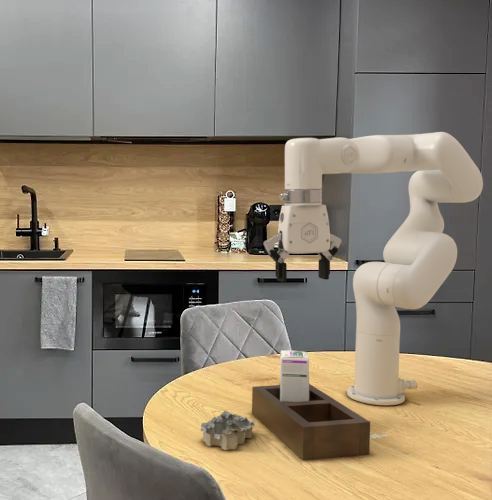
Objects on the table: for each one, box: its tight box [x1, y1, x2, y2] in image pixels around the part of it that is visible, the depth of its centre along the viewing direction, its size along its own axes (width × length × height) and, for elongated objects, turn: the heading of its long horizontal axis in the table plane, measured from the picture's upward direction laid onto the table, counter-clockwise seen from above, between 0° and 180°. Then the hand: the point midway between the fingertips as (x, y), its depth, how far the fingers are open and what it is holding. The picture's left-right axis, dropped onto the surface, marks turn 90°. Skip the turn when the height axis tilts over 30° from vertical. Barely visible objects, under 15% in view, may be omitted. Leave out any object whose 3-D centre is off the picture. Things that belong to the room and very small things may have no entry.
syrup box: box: [279, 349, 310, 403], centre depth 127 cm, size 6×6×14 cm
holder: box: [251, 383, 371, 461], centre depth 122 cm, size 13×24×6 cm, turn 12°
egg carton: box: [200, 410, 256, 451], centre depth 118 cm, size 11×8×4 cm
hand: (302, 279), depth 130 cm, fingers open, 9 cm apart
